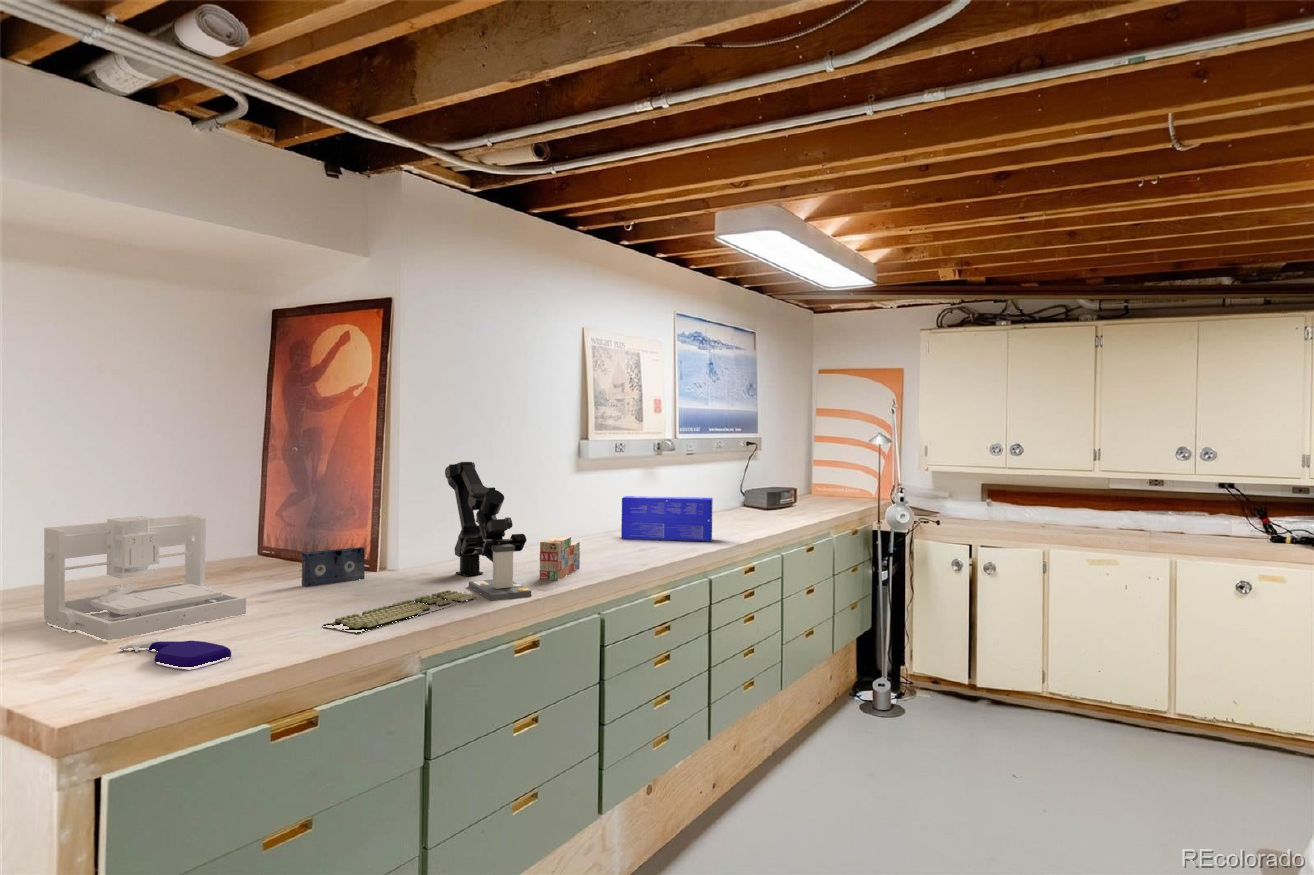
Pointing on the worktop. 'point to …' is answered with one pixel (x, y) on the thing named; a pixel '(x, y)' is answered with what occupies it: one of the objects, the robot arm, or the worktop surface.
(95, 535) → the 3d printer
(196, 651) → the dark purple flat pad
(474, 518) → the robot arm
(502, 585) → the lever
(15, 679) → the worktop surface
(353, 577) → the vhs cassette tape
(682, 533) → the toner cartridge box
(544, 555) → the stack of blocks
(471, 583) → the switch panel
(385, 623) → the keyboard
